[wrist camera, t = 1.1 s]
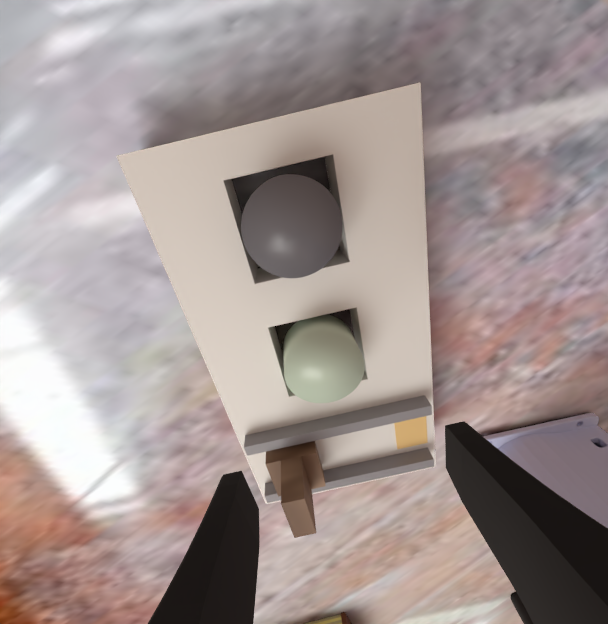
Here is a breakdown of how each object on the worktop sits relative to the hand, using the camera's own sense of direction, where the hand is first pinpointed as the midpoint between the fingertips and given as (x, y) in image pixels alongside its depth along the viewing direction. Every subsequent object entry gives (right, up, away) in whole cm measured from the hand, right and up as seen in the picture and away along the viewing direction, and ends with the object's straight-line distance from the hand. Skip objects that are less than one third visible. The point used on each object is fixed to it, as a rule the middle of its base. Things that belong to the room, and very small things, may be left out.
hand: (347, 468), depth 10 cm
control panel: (-1, +4, +9) cm, 9 cm away
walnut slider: (-2, -4, +9) cm, 10 cm away
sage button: (-1, +3, +7) cm, 8 cm away
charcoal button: (-2, +9, +4) cm, 10 cm away
